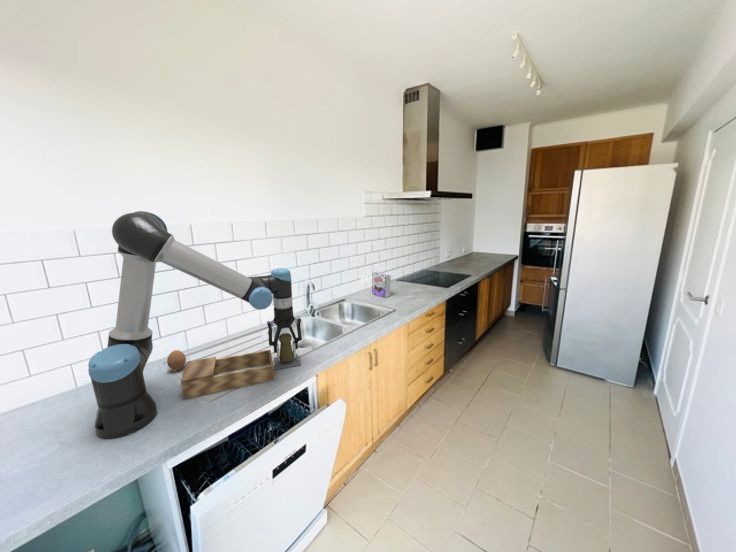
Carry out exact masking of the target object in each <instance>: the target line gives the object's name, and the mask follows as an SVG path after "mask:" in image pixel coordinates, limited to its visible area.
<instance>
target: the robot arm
mask: <svg viewBox="0 0 736 552" xmlns="http://www.w3.org/2000/svg"><path fill="white" fill-rule="evenodd" d="M111 234H112V238H113V239H114V241H115V243H116V244H117V245H118V246H117V252H118V254H120V255H121V256H122V268H121V276H120V284H119V293H118V303H117V313H116V320H115V321H116V322H115V327H114V328H112V329H111V330H109V332H108V338H107V347H105V348H103V349H102V350H101V351H100V350H99V351H97V352H96V353H94V355H92V356H91V357H90V359H89V361H88V365H87V366H88V376H89V378H90V381H91V385H92V388H93V393H94V397H95V400H96V404H97V411H96V417H95V421H94V431H95V434H96V435H97V437H99V438H101V439H116V438H121V437H124V436H128V435H130V434H133V433H135V432H137V431H139V430H140V429H142V428H144V427H145V426H147V425H148V424H149V423H151V422H152V420H154V419H155V417H156V416H157V414H158V408H157V403H156V401H155V400H154V399H153V397H152V396H151V395H150V394H149V392H148V391H147V387H146V382H145V377H144V370H145V368H146V365H147V363H148V360H149V358H150V356H151V354H152V353H153V347H154V345H153V330H152V329H151V328H150V327H149V323H150V314H151V313H150V312H151V307H152V306H151V304H152V297H153V291H154V283H155V274H156V266H157V263H162V264H164V265H167V266H169V267H171V268H173V269H176V270H178V271H180V272H181V273H184V274H186V275H188V276H191V277H193V278H195V279H197V280H199V281H201V282H203V283H206V284H208V285H210V286H212V287H215V288H217V289H219V290H221V291H223V292H225V293H227V294H230V295H231V296H234V297H236V298H237V299H238V298H239V300H240V299H241V300H242V301H245V302H246V303H249V305H250V306H251V307H252V308H254V309H256V310H258V311H259V310H266V309H267V308H269V307H270V306H271V305H272V304H273V316H274V317H273V319H272V320H270V321H269V320H268V321H266V326H267V327H268V345H269V347H270V346H272V347H273V353H275V354H276V357H277V359H278V360H280V357H279V356H280V347H279V346H280V345H279V336H280V335H281V332H282V329H289V332H290V335H291V336H292V340H291V341H292V342H291V345H292V351H293V356H294V358H295V357H296V354H297V352H296V350H298V348H299V345H298V343H299V342H301V341H302V340H303V337H302V329H301V322H302V318H301V317H300V316H297V317H295V316H294V306H293V290H292V289H293V287H292V284H293V283H292V280H293V279H292V274H291V271H290V269H288V268H286V267H285V268H284V267H282V268H281V267H279V268H273V269H271V270H270V274H268V275H260V276H259V275H258V276H246V275H244V274H242V273H240V272H238V271H236V270H234V269H232V268H231V267H229V266H227V265H225V264H224V263H223V264H222V263H221V262H219V261H216V260H215V259H214V258H211V257H209V256H207V255H205V254H203V253H201V252H199V251H198V250H195V249H194V248H192V247H190V246H187V245H185V244H184V243H181V242H180V241H177V240H176V239H175V236H174V235H173V234H172V233H170V232H168V227H167V224H166V223H165V221H164V220H163V219H162V218H161V217H160V216H158V215H157V214H155V213H152V212H149V211H143V210H138V211H134V212H129V213H125V214H122V215H121V216H119V217H117V218H116V219H115V221H114V222H113V225H112V227H111ZM293 323H296V333H297V336H296V334H295V332H294V329H293V327H292V324H293ZM274 324H275V326H276V331H275V336H274V337H273V326H274ZM273 338H274V339H273Z"/></svg>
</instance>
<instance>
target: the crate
mask: <svg viewBox="0 0 736 552" xmlns="http://www.w3.org/2000/svg"><path fill="white" fill-rule="evenodd" d="M264 365H265V366H264ZM184 366H185V367H184V369H183V372H182V375H181V378H180V386H181V391H182V398H183V399H188V398H193V397H198V396H203V395H207V394H212V393H216V392H221V391H222V392H223V391H227V390H232V389H235V388H240V387H245V386H246V387H247V386H250V385H255V384H261V383H265V382H269V381H273V380H276V379H275V364H274V359H273V357H272V351H271V349H266V350H260V351H254V352H250V353H243V354H238V355H231V356H225V357H220V358H217V357H216V356H211V357H206V358H200V359H194V360H189V361H186V363H185V365H184ZM259 366H260V367H259ZM231 371H233V372H231ZM227 372H228V373H227ZM221 373H222V374H221ZM215 374H216V375H215ZM202 394H203V395H202Z"/></svg>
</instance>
